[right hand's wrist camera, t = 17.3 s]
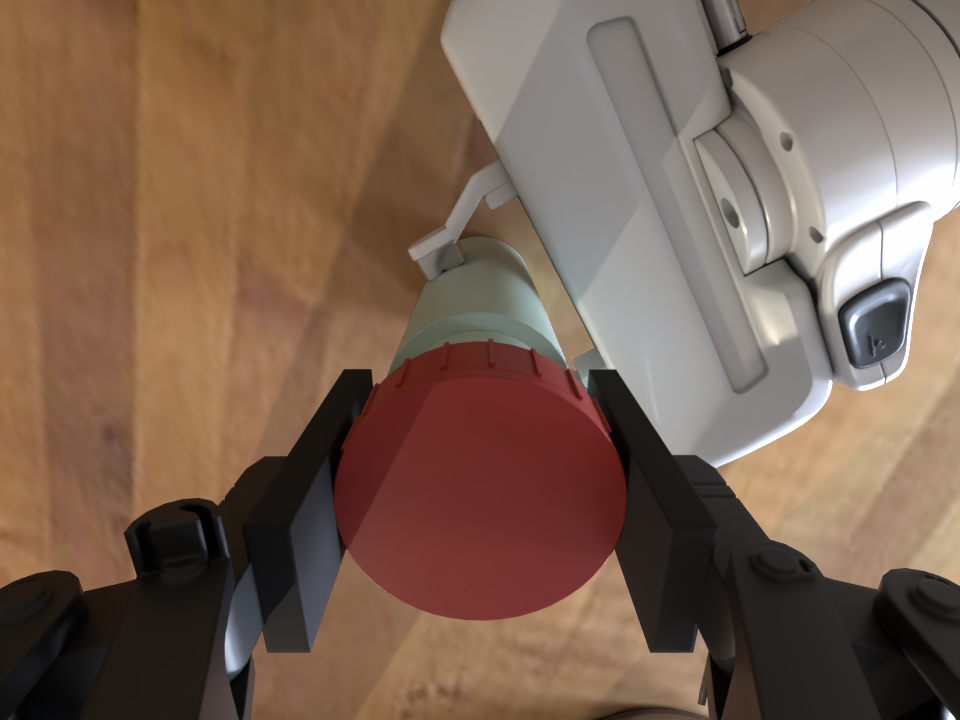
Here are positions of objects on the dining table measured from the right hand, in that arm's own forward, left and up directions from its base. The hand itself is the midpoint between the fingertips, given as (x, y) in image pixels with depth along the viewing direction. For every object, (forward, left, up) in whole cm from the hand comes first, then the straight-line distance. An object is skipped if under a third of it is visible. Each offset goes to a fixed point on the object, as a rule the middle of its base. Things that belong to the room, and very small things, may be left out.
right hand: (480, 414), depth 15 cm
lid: (0, 0, +4) cm, 4 cm away
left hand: (+1, +1, -7) cm, 7 cm away
